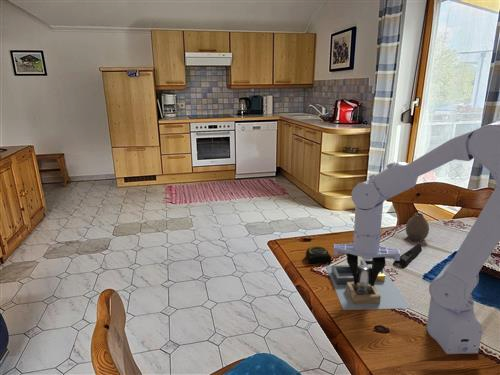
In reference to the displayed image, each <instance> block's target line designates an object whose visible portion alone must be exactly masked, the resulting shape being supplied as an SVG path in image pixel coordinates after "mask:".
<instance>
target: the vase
mask: <svg viewBox="0 0 500 375" xmlns="http://www.w3.org/2000/svg"><path fill="white" fill-rule="evenodd" d="M429 232H430V225H429V223H428V221H427V220H426V218H425V216H424V214H423V213H421V212H415V213H414V215H413V216H412V217H410V218H409V219H408V220H407V222H406V224H405V233H406V235H407V238H408V239H410V240H412V241H417V242H421V241H423V240H425V239H426V238H427V237H428V235H429Z"/></svg>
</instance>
